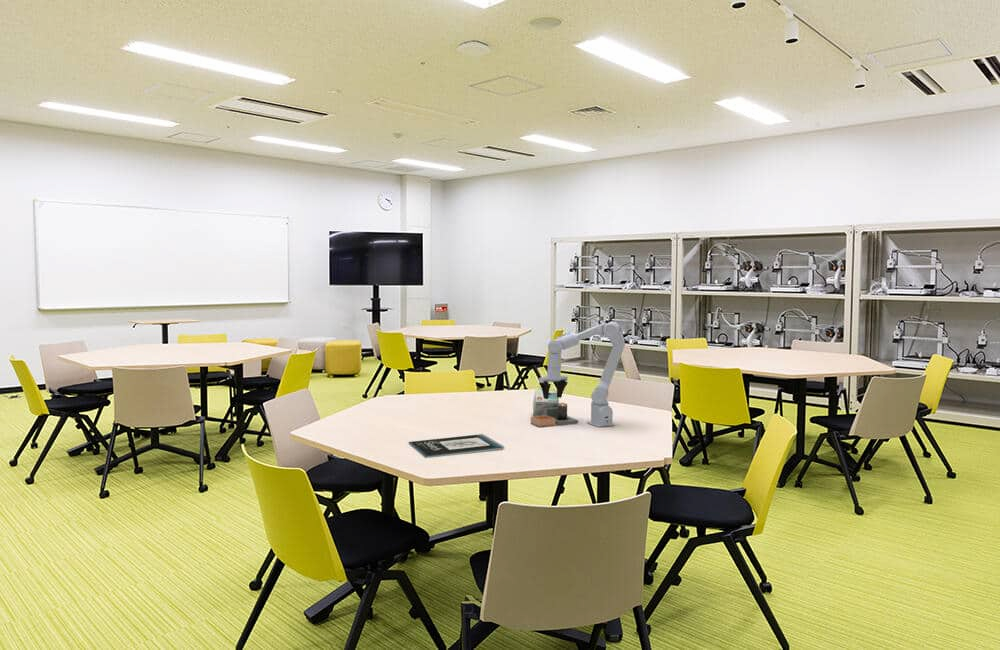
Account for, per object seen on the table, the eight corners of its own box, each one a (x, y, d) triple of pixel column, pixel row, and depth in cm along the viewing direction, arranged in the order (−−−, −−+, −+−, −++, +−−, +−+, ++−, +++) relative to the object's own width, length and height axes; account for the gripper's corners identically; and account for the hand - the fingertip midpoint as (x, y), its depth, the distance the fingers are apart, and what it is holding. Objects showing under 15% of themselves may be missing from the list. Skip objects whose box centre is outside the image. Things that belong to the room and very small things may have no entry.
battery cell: (568, 422, 290) (569, 403, 289) (560, 423, 288) (560, 404, 288) (564, 421, 293) (564, 401, 293) (556, 421, 292) (556, 402, 291)
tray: (555, 425, 284) (555, 418, 284) (539, 427, 281) (539, 420, 280) (546, 422, 291) (546, 415, 291) (530, 423, 288) (530, 416, 287)
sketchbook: (408, 445, 252) (408, 439, 252) (483, 438, 264) (483, 432, 264) (425, 459, 232) (425, 453, 232) (505, 450, 244) (505, 445, 244)
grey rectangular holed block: (578, 423, 288) (578, 411, 288) (557, 425, 284) (558, 413, 284) (563, 417, 300) (563, 406, 300) (543, 419, 296) (543, 407, 296)
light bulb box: (555, 403, 308) (558, 390, 300) (556, 416, 304) (559, 402, 296) (532, 402, 308) (535, 389, 300) (532, 415, 303) (535, 401, 295)
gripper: (560, 364, 299) (559, 395, 300) (535, 366, 290) (533, 397, 291) (571, 367, 293) (569, 398, 294) (545, 368, 285) (544, 400, 286)
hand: (552, 398), depth 293 cm, fingers open, 7 cm apart
